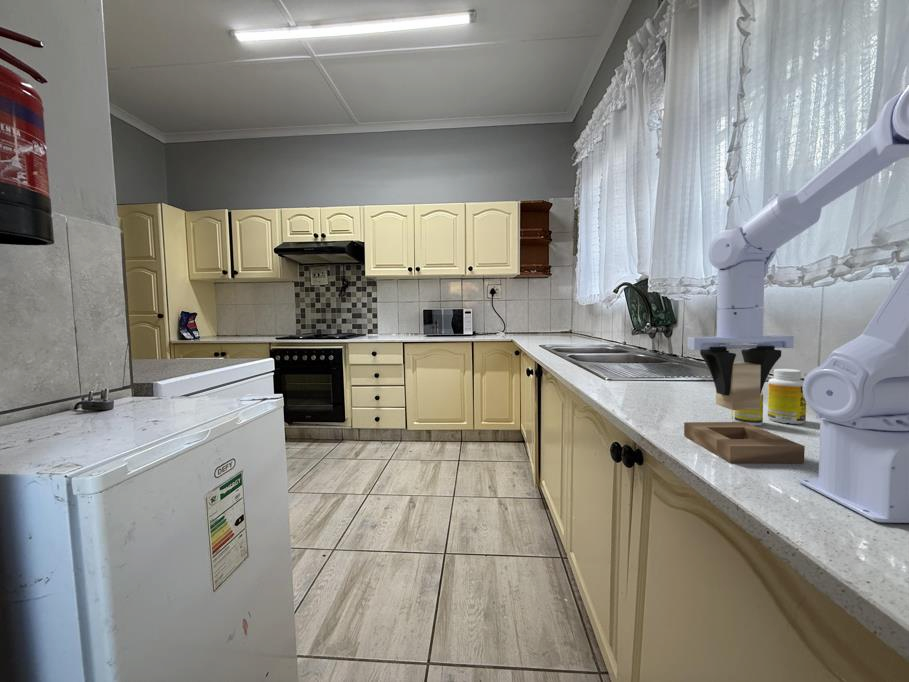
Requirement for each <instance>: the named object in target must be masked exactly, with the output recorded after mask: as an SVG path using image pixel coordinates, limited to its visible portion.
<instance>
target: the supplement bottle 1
mask: <svg viewBox="0 0 909 682" xmlns="http://www.w3.org/2000/svg"><path fill="white" fill-rule="evenodd" d="M763 413H764V392H763V391H761V394H760V410H731V422H745V423H748V424H750V425H753V426H755V427H759V426H762V425H763V424H764V423H763V421H764V415H763Z"/></svg>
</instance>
